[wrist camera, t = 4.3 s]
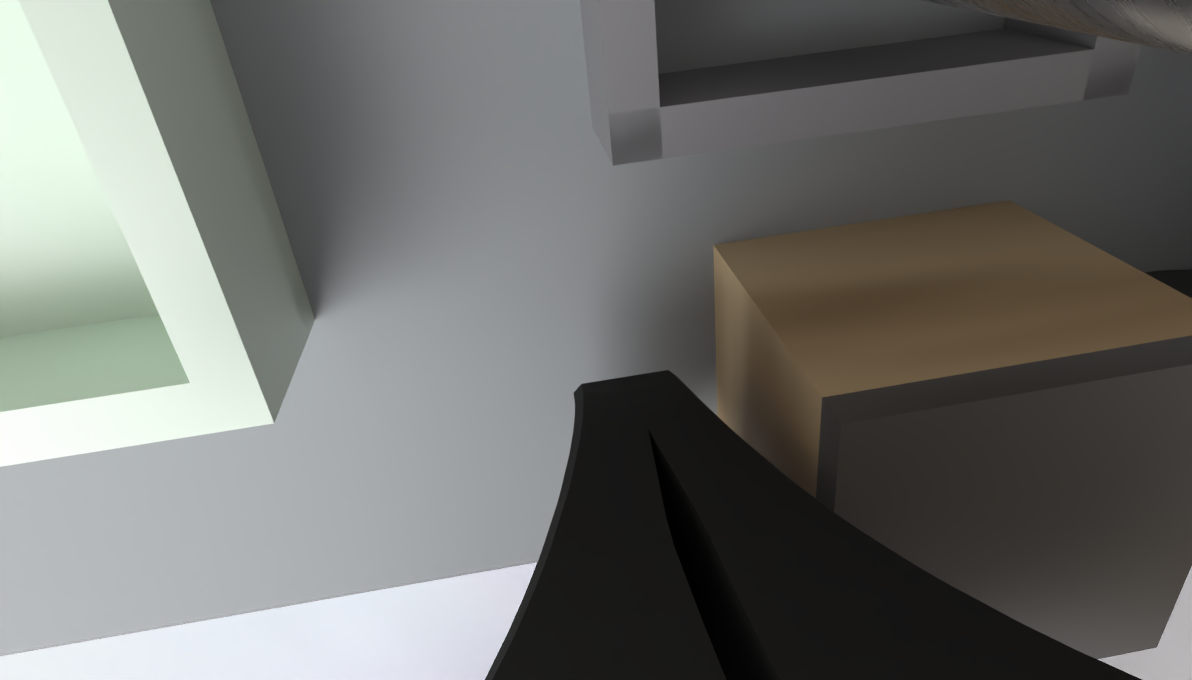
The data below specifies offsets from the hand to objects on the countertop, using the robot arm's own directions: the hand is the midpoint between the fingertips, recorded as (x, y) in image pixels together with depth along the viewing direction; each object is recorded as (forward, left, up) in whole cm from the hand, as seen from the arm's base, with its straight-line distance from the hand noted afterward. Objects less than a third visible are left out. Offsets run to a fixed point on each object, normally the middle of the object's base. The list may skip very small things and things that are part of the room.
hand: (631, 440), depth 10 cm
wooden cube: (0, -3, -1) cm, 4 cm away
